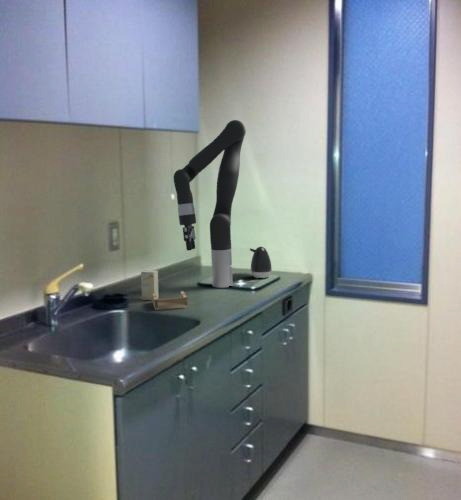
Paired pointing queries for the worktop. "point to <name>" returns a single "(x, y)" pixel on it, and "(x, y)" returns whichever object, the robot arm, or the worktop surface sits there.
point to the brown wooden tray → (170, 302)
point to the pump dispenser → (260, 263)
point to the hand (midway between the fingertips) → (191, 249)
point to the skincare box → (149, 284)
